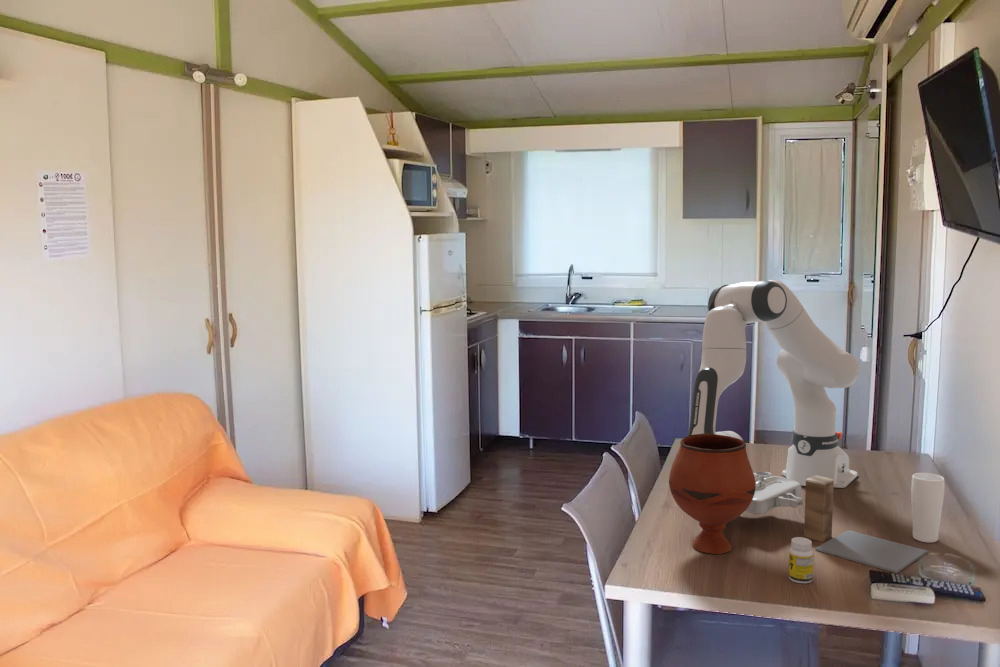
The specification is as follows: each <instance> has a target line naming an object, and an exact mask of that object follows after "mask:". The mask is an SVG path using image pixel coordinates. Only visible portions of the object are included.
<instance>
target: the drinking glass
mask: <svg viewBox="0 0 1000 667" xmlns="http://www.w3.org/2000/svg"><path fill="white" fill-rule="evenodd" d="M910 493H911V494H910V497H911V516H912V537H913V539H915V541H918V542H922V543H926V544H927V543H931V544H932V543H936V542H938V540H939V536H940V535H939V533H940V532H939V531H940V523H941V518H942V517H941V516H942V512H943V506H944V497H945V478H944V477H943V476H942V475H939V474H936V473H931V472H915V473H913V474H912V476H911V491H910Z"/></svg>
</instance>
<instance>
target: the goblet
mask: <svg viewBox="0 0 1000 667" xmlns="http://www.w3.org/2000/svg"><path fill="white" fill-rule="evenodd" d="M679 442H680V446H679V449H678V450H677V452H676V455H675V457H674V458H673V463H672V465H671V467H670V469H669V470H670V471H669V476H668V487H669V490H670V493H671V496H672V498H673V500H674V501H675V503H676V504H677V506H678V507H679V508H680V509H681V510H682V512H684V513H685V514H687V515H688V516H689V517H691V518H692V519H693V520H695V521H697V522H699V523H698V525H699V527H700V528H701V529H702V530H701V532H699V534H698V535H697V536H696V537H695V539H694V540H693V542H692V544H691V545H692V547H693V549H694V550H696V551H698V552H701V553H706V554H712V555H721V554H724V553H725V554H726V553H728V552H730V551H732V545H731V543H730V542H729V539H727V537H726V536H725V534H724V533H723V531H724V530H725V529H726V524H728V523H730V522H732V521H734V520H736V519H737V518H738V517H740V516H741V515H742V514H743V513H745V512H746V511H745V510H746V509H747V508H748V507H749V505H750V503H751V501H752V499H753V497H754V494H755V489H756V484H755V477H754V473H755V472H754V471H753V469H752V467H751V463H750V460H749V458H748V454H747V453H748V452H747V444H746V442H745V440H744V441H742V440H740V439H738V438H734V437H730V436H724V435H716V434H706V433H703V434H695V435H690V436H685V437H683V438H681V440H680V441H679ZM745 447H746V448H745Z"/></svg>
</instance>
